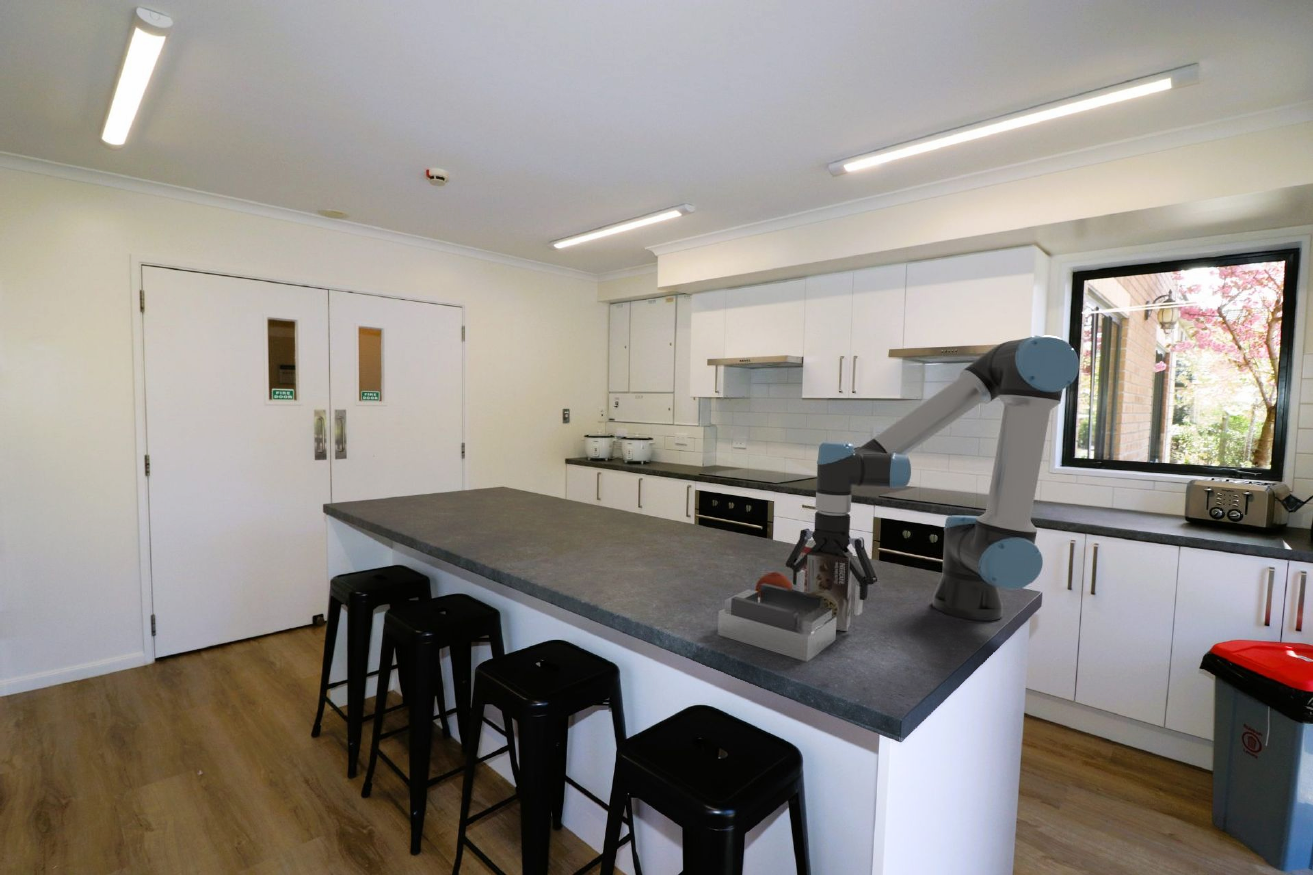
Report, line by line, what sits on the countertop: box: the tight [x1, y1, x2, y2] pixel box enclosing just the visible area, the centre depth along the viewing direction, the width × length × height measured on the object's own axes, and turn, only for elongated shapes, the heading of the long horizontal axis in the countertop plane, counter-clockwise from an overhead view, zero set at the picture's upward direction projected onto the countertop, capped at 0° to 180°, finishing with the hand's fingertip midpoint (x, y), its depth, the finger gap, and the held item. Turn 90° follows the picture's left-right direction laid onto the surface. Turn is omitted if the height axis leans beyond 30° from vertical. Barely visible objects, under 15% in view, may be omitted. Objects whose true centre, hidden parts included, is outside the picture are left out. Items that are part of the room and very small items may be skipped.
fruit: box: [754, 571, 794, 598], centre depth 148 cm, size 9×9×8 cm
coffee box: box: [807, 550, 853, 632], centre depth 136 cm, size 9×6×16 cm
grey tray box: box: [717, 583, 837, 663], centre depth 128 cm, size 20×14×8 cm
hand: (828, 606), depth 137 cm, fingers open, 13 cm apart
